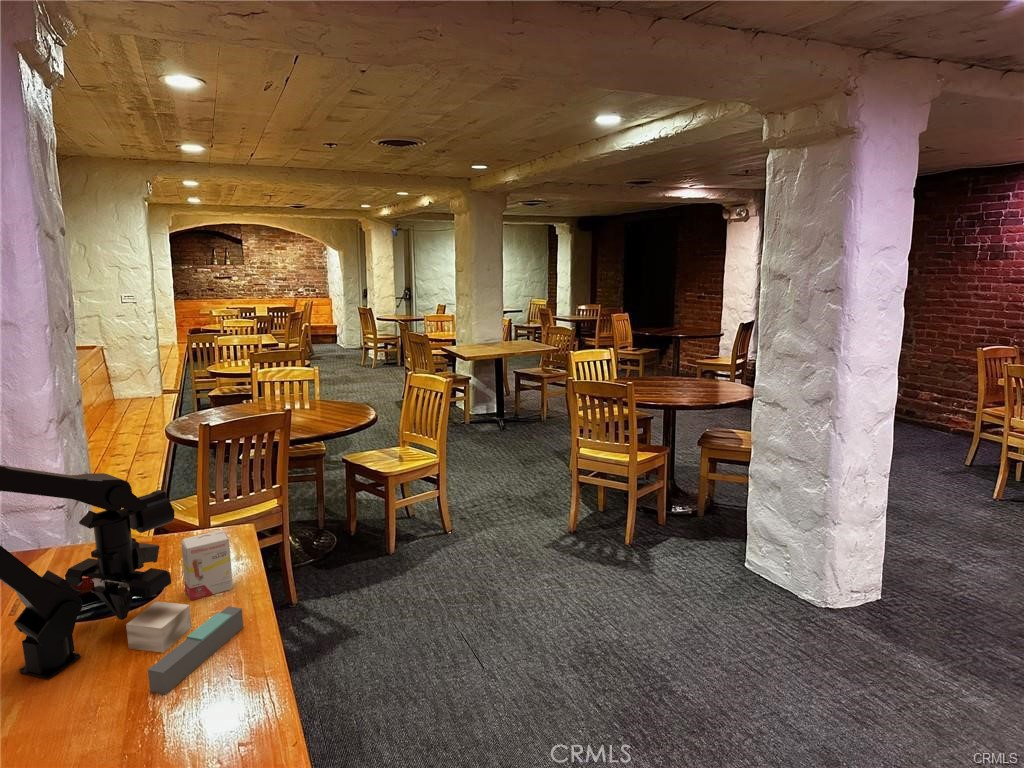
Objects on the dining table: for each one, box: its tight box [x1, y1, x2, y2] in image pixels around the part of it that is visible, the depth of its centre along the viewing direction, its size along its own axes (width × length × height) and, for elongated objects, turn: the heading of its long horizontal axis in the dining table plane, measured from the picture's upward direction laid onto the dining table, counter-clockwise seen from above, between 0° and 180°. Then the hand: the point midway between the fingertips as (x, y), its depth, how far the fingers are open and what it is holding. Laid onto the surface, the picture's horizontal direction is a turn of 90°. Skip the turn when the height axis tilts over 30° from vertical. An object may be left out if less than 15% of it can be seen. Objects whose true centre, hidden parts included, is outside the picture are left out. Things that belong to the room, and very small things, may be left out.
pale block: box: [125, 600, 192, 653], centre depth 123 cm, size 8×7×5 cm
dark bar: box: [147, 606, 244, 695], centre depth 118 cm, size 20×3×4 cm, turn 165°
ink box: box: [180, 530, 234, 601], centre depth 139 cm, size 9×5×12 cm, turn 127°
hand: (123, 618), depth 125 cm, fingers closed
